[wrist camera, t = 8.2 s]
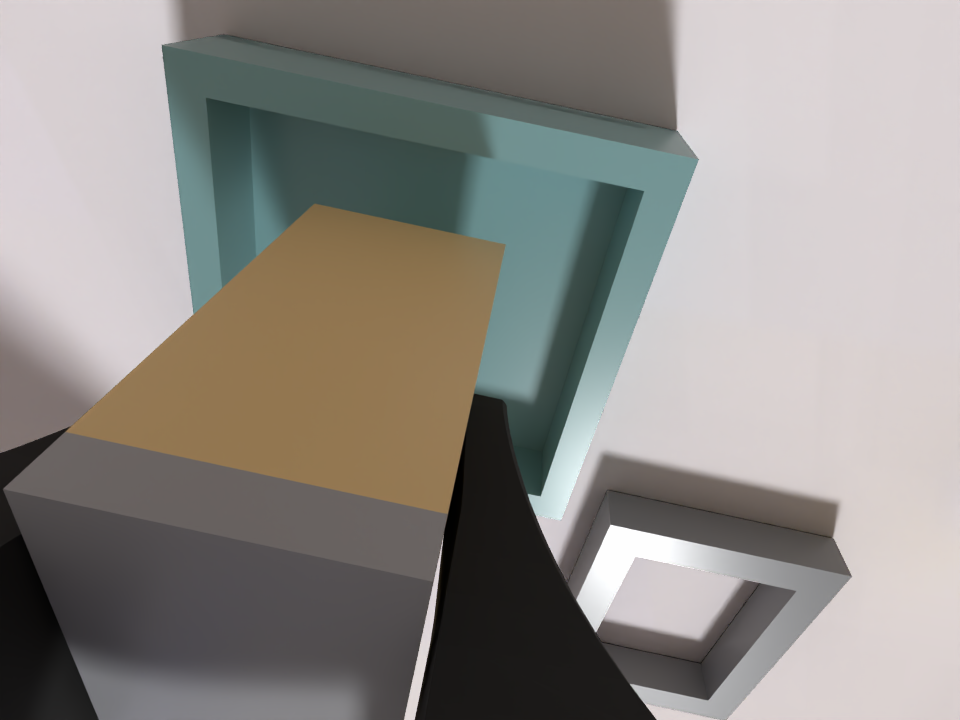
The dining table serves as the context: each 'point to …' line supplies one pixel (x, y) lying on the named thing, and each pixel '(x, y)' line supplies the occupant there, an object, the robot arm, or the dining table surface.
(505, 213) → the parts tray
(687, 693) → the frame
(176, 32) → the dining table surface
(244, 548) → the plug
